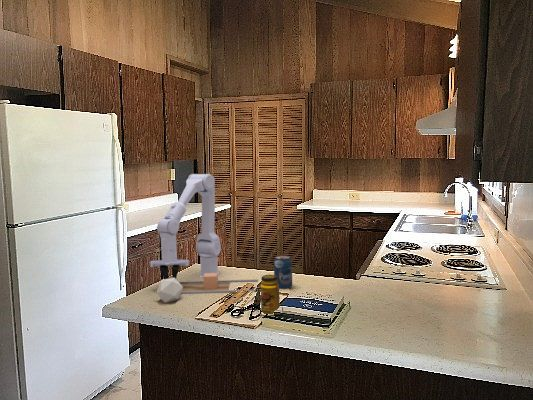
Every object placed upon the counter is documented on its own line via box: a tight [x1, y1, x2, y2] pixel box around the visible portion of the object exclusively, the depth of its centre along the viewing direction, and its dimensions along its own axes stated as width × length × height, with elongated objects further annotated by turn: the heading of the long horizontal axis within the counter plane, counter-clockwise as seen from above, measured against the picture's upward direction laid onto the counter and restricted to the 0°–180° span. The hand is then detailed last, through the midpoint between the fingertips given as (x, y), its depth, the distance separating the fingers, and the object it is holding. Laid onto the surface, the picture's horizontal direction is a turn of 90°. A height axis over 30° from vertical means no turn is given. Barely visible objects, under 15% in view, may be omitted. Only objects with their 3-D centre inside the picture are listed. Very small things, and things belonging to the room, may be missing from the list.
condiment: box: [260, 274, 281, 314], centre depth 145 cm, size 7×8×12 cm
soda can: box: [273, 255, 293, 290], centre depth 171 cm, size 7×7×12 cm
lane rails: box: [177, 278, 259, 296], centre depth 172 cm, size 15×36×1 cm, turn 90°
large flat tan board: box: [168, 275, 231, 291], centre depth 172 cm, size 12×24×4 cm, turn 90°
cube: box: [202, 273, 219, 289], centre depth 172 cm, size 5×5×5 cm
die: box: [156, 278, 183, 304], centre depth 159 cm, size 8×9×10 cm
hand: (170, 284), depth 172 cm, fingers closed on large flat tan board, 2 cm apart
